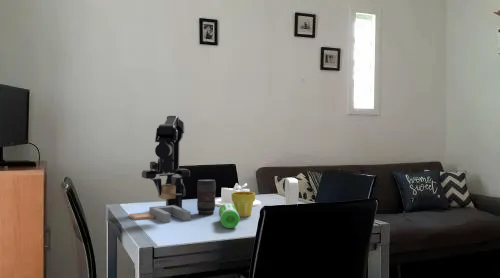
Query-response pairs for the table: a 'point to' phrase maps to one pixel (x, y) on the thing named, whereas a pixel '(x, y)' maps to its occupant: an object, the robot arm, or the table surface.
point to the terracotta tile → (141, 216)
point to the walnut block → (167, 191)
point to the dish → (227, 195)
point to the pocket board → (169, 213)
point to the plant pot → (243, 202)
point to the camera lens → (206, 197)
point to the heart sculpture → (291, 191)
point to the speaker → (228, 215)
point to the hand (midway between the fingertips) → (166, 194)
